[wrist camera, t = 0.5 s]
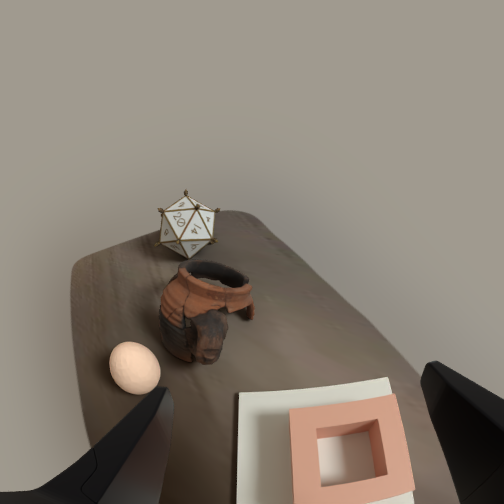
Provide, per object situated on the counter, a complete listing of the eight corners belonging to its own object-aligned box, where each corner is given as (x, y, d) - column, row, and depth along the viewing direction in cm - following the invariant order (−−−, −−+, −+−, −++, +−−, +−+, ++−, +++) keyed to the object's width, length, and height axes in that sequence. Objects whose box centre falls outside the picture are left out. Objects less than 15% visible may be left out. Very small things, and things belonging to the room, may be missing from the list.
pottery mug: (153, 316, 33) (165, 249, 31) (230, 325, 36) (248, 263, 34) (158, 391, 22) (171, 306, 20) (262, 394, 26) (292, 319, 23)
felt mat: (417, 563, 9) (419, 563, 9) (236, 590, 10) (235, 591, 9) (386, 379, 23) (387, 376, 23) (239, 395, 24) (239, 392, 24)
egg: (165, 360, 27) (145, 324, 24) (170, 399, 24) (147, 367, 20) (124, 368, 27) (99, 333, 23) (125, 406, 23) (96, 376, 20)
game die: (212, 272, 43) (241, 236, 35) (153, 277, 39) (169, 238, 31) (199, 219, 46) (222, 176, 39) (145, 220, 42) (159, 174, 34)
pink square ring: (400, 494, 14) (415, 489, 12) (293, 514, 15) (294, 513, 13) (384, 408, 21) (394, 393, 19) (288, 422, 21) (289, 408, 19)
